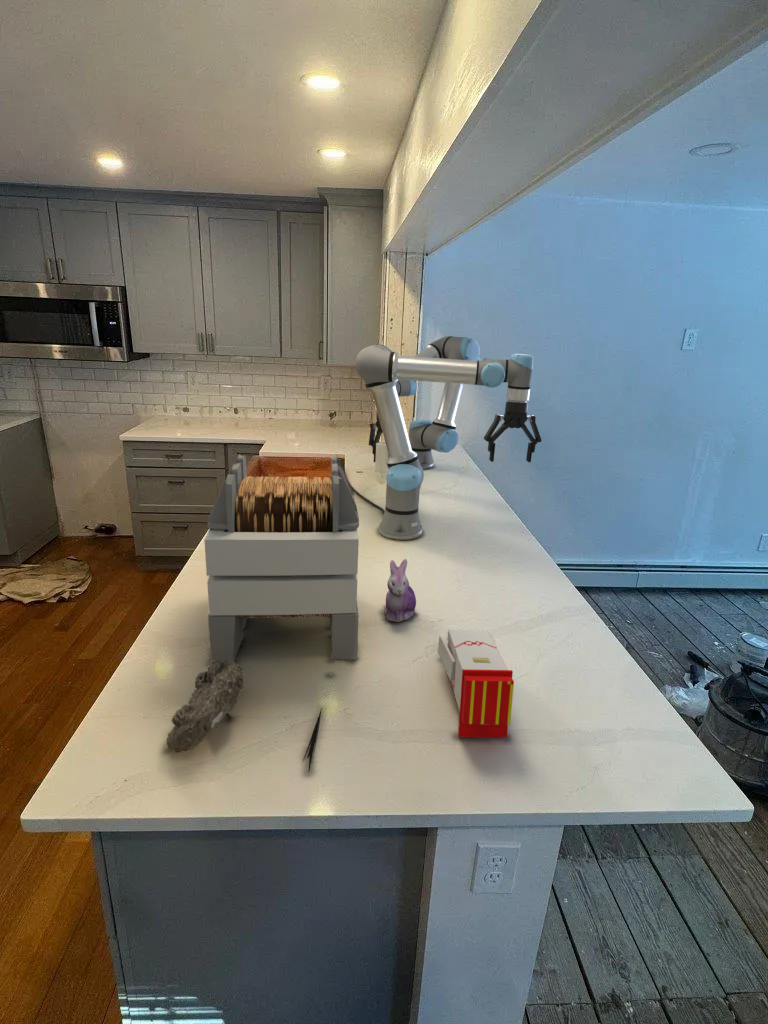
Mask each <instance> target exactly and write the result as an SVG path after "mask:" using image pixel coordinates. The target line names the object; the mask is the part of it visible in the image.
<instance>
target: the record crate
mask: <svg viewBox="0 0 768 1024" xmlns="http://www.w3.org/2000/svg"><path fill="white" fill-rule="evenodd" d="M339 460H340V459H339V458H338V456H337V455H331V456H330V476H324V477H321V476H314V477H312V478H309V477H308V476H286V477H284V476H283V477H282V476H281V477H280V476H263V475H261V476H254V475H253V476H250V475H248V472H247V458H246V455H245V454H244V455H241V454H238V455H237V456H236V459H235V460H234V462H232V463H233V464H232V467H231V468H230V470H229V474H227V475H226V477H225V480H224V482H223V484H222V486H221V488H220V490H219V493H218V496H217V498H216V500H215V502H214V504H213V506H212V508H211V511H210V513H209V515H208V517H207V521H206V522H207V523H206V524H207V528H208V531H207V533H206V535H205V537H204V554H205V556H204V557H205V569H206V570H205V571H206V576H208V579H207V583H206V584H207V597H208V610H209V611H208V615H207V622H208V637H209V638H208V639H209V644H210V657H211V658H210V659H209V660H210V662H211V661H212V660H217V661H222V662H223V661H224V660H227V659H228V660H231V659H232V660H234V661H235V659H236V656H237V654H238V651H239V649H240V646H241V643H242V640H243V638H244V631H243V629H245V628H246V626H247V620H248V619H250V618H251V619H257V618H258V619H261V618H262V619H264V618H265V619H267V618H272V619H273V618H305V617H306V618H312V617H315V618H320V617H321V618H322V617H324V618H325V617H329V620H330V621H329V622H330V623H329V625H330V647H331V648H330V649H331V650H330V651H331V660H351V661H354V660H355V659H356V658H358V653H359V652H358V650H359V607H358V571H359V570H358V567H359V545H360V543H359V540H360V539H359V534H358V533H359V532H358V529H359V527H360V517H359V512H358V506H357V502H356V497H355V496H356V495H355V492H354V491H353V490H352V488H351V486H352V485H351V483H350V481H349V479H348V477H347V474H346V472H345V473H344V471H343V469H342V467H341V464H340V462H339ZM345 474H346V475H345ZM247 475H248V476H247ZM347 479H348V480H347ZM348 481H349V482H348ZM349 483H350V484H349ZM350 485H351V486H350Z"/></svg>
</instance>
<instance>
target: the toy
mask: <svg viewBox="0 0 768 1024" xmlns="http://www.w3.org/2000/svg"><path fill="white" fill-rule="evenodd" d="M446 640H447V643H446V641H445V639H444V636H443V635H442V634H439V637H438V646H437V656H438V657H439V659H440V661H441V663H442V666H443V668H444V670H445V672H446V674H447V677H448V679H449V681H450V684H451V687H452V690H453V693H454V697H455V701H456V705H457V708H458V711H459V714H458V715H459V716H458V730H457V731H458V732H457V737H458V738H508V731H509V726H510V725H511V717H512V707H513V697H514V696H513V695H514V684H515V680H514V679H513V673H514V671H513V670H512V669H508V667H507V665H506V662H505V661H504V659H503V658H502V655H501V653H500V651H499V649H498V647H497V643H496V639H495V637H494V635H493V634H491V632H490V631H489V629H467V628H466V629H465V628H463V629H461V628H460V629H459V628H448V630H447V639H446Z"/></svg>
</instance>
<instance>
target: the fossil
mask: <svg viewBox="0 0 768 1024" xmlns="http://www.w3.org/2000/svg"><path fill="white" fill-rule="evenodd" d="M243 670H244V669H243V667H242V665H240V664H237V662H236V661H235V659H234V660H232V659H231V660H228V659H227V660H224V661H217V660H212V661H211V660H210V663H209V665H208V666H207V671H201V672H199V673H198V674H197V675H196V676H195V680H194V684H195V685H194V687H195V689H194V690H193V693H192V694H191V697H190V698H189V700H188V704H184V705H182V706H181V707H180V709H177V710H176V711H175V713H174V715H173V716H172V718H171V723H172V724H173V727H172V730H171V731H170V732H168V734H167V738H166V741H167V742H166V745H167V749H168V750H169V751H173V752H174V753H176V754H178V753H182V752H188V751H189V752H192V751H193V750H195V748H196V747H197V746H199V744H200V743H201V742H203V741H204V740H205V739H206V738H207V737H208V736H209V735H210V734H211V733H212V732H214V730H215V729H217V727H218V726H219V724H220V722H221V721H222V720H223V719H224V718H225V716H226V717H227V719H229V720H233V717H232V715H230V714H229V710H230V709H231V708H234V706H235V704H236V703H237V702H238V699H239V697H240V695H241V693H242V691H243V690H245V689H244V688H245V675H244V671H243Z"/></svg>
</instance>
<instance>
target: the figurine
mask: <svg viewBox="0 0 768 1024" xmlns="http://www.w3.org/2000/svg"><path fill="white" fill-rule="evenodd" d="M407 567H408V559H406V558H404V559H403V560H402V561H401V563H400V565H399V566H398V565H397V563H396V562H395V561H394V560H393V559H391V560H390V561H389V570H390V576H389V578H388V579H387V589H388V591H387V592H386V594H385V595H386V596H385V607H384V615H385V616H386V620H387V621H391V622H395V623H400V622H402V621H406V620H409V619H410V618H411V617H413V616H414V615H415V610H416V606H417V597H416V593H415V591H414V590H413V587H411V586H410V582H409V579H408V577H407V574H406V571H407Z"/></svg>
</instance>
